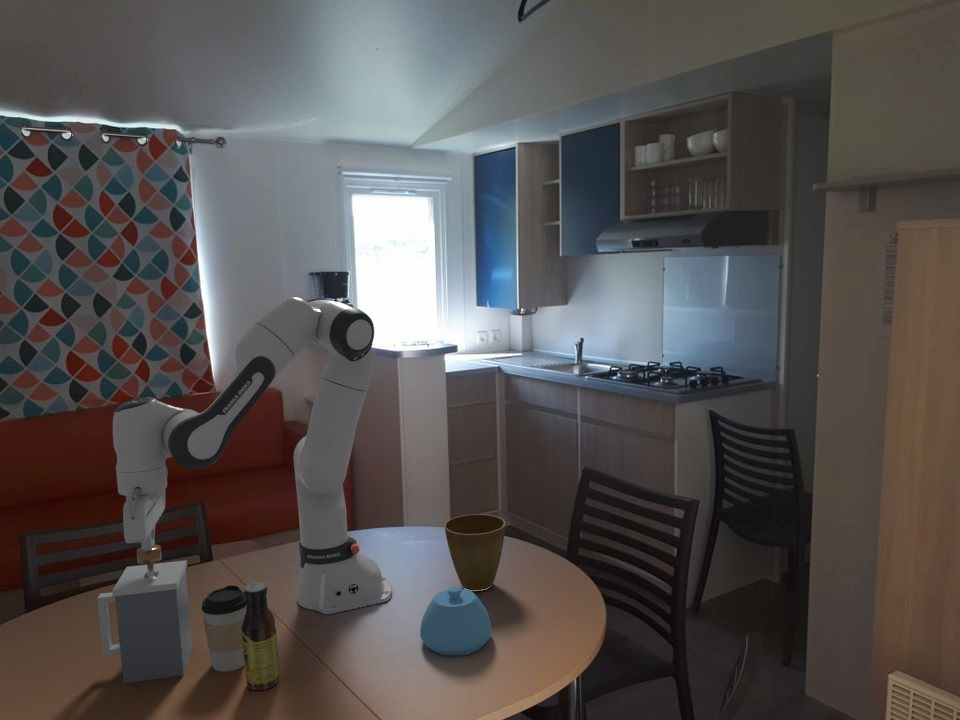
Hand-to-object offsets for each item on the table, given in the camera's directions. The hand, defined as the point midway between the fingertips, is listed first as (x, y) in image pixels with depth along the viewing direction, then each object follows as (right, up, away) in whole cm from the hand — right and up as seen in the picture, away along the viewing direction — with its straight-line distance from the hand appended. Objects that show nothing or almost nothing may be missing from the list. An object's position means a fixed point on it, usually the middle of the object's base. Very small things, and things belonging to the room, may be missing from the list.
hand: (148, 548), depth 148 cm
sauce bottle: (+24, -25, -5) cm, 35 cm away
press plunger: (+1, -21, +3) cm, 21 cm away
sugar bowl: (+61, -22, +9) cm, 65 cm away
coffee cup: (+15, -24, +3) cm, 29 cm away
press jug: (-1, -25, +3) cm, 25 cm away
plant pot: (+65, -18, +36) cm, 77 cm away
